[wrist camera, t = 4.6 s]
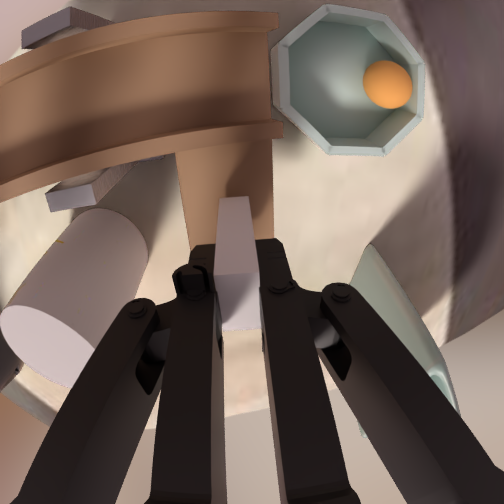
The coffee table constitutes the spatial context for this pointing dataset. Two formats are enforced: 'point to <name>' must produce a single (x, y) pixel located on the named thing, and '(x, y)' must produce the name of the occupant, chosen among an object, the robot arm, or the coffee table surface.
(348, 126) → the bowl
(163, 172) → the coffee table surface
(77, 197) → the fulcrum
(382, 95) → the ball
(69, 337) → the pale pink cylinder
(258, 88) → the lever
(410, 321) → the planter
